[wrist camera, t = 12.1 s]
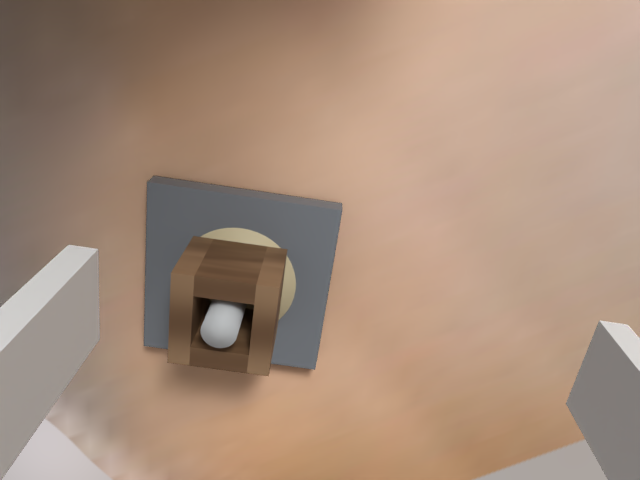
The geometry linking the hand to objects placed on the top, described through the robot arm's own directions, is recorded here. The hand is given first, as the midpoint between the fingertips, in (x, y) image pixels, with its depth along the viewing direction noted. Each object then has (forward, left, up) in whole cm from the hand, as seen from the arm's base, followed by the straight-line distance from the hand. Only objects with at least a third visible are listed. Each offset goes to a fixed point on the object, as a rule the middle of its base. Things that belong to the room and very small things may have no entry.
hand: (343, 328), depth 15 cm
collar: (+13, -6, -25) cm, 29 cm away
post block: (+13, -6, -27) cm, 30 cm away
